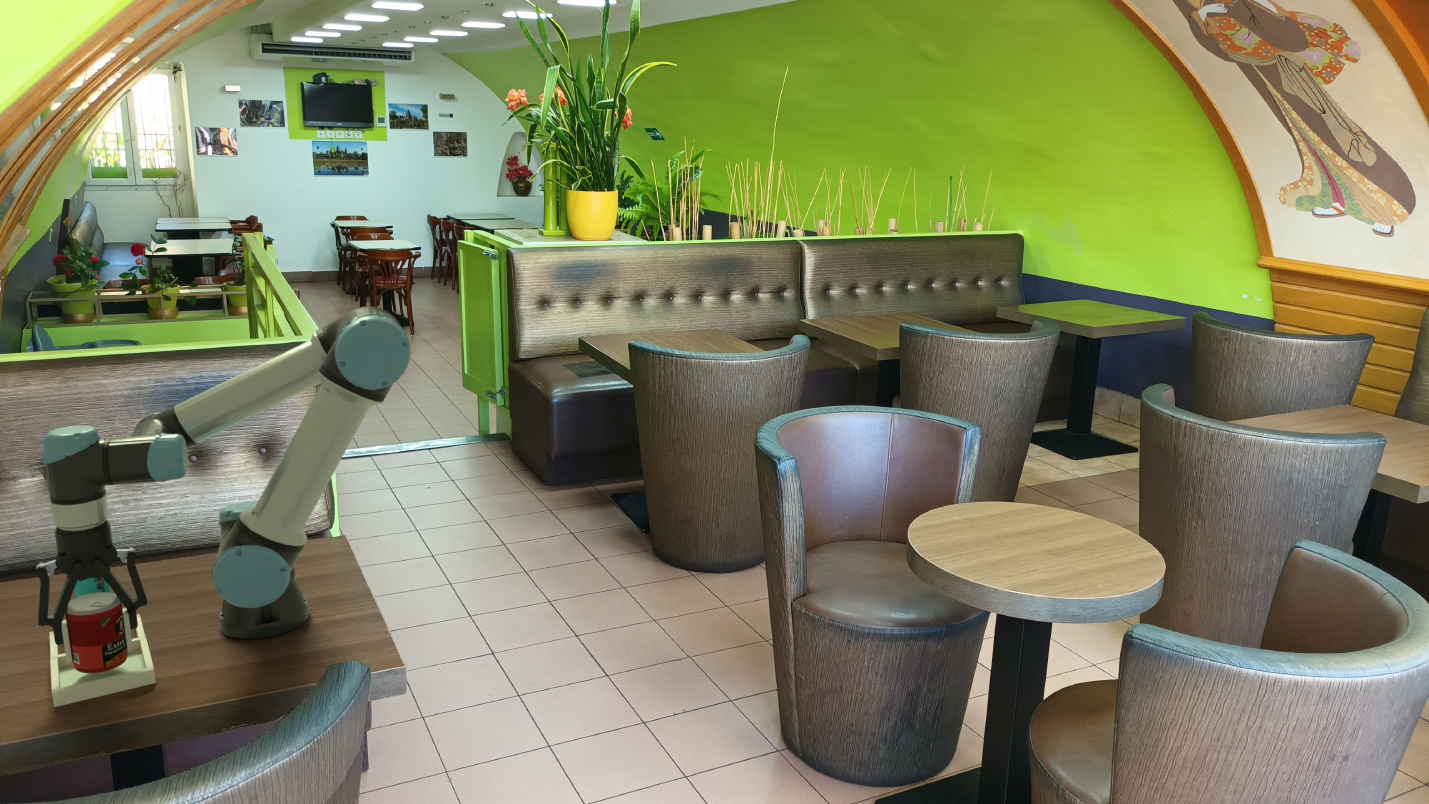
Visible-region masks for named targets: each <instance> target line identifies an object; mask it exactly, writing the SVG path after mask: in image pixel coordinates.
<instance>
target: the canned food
mask: <svg viewBox="0 0 1429 804" xmlns="http://www.w3.org/2000/svg"><path fill="white" fill-rule="evenodd" d="M122 609H123V603H122V602H121V601H120V599H119V598H118V597H117V595H116V594H115V593H114V592H111V591H110V592H99V593H91V594H87V595H83V596H80V597H77V598H73V599H72V598H71V599H70V601H69V604H68V607H67V610H66V612H65V620H66V622H67V627H68V634H69V641H70V648H71V655H72V662H73V665H74V667H75V669H76V670H77V671H79V672H82V673H99V672H104V671H108V670H111V669H114V668H116V667H118V666H120V665H122V664H123V663H124V662H125V661H126V659H127V656H128V650H127V642H126V634H125V627H124V619H123V610H122Z"/></svg>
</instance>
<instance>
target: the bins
mask: <svg viewBox="0 0 1429 804" xmlns="http://www.w3.org/2000/svg"><path fill="white" fill-rule="evenodd" d="M136 614H137V613H136ZM137 622H138V626H137V628H135V631H136V635H137V637H134V638H132V646H133V650H130V651H128V656H127V659H126V661H125V662H124V663H123V664H122V665H120V666H118V667H116V668H114V669H111V670H108V671H104V672H99V673H82V672H79V671H77V670H76V669H75V667H74V665H73V662H72V663H70V664H67V661H66V654H65V652H64V653H60V654H59V645H57V644H56V643H55V639H54V632H53V631H49V651H50V652H49V653H50V656H49V660H50V661H49V662H50V663H49V664H50V682H51V683H50V684H51V696H52V703H53V708H58V707H62V706H65V705H70V704H74V703H77V702H82V701H85V700H91V699H94V698H99V697H103V696H107V695H111V694H115V693H119V692H124V691H128V690H131V689H137V688H141V687H146V686H148V685H153V684H156V683H157V681H156V673H155V668H154V667H155V666H154V664H153V659H152V655H151V652H150V648H149V644H148V640H147V636H146V634H145V630H144V626H143V623H142V619H141V615H140V613H138V614H137ZM127 650H128V649H127Z"/></svg>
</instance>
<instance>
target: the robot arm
mask: <svg viewBox="0 0 1429 804" xmlns="http://www.w3.org/2000/svg"><path fill="white" fill-rule="evenodd" d="M410 359H411V345H410V339H409V337H408V335H407V333H406V331H405V330H404V329H403V327H402V326H401V323H400V322H399V320H398V319H397V317H395V316H394V315H393V314H391V313H390V312H389V311H388V310H385V309H383V308H380V307H375V306H362V307H358V308H356V309H352V310H350V311H349V312H347V313H345V314H344V315H342V316H340V317H338V318H337V319H335V320H334V321H332V322H330V323H328V324H326V325H324V326H323V327H321V328H318V329H316V330H315V331H313V333H312V336H311V339H310V340H307V341H305V342H303V343H301V344H300V345H298V346H295V347H293V348H291V349H289V350H287V351H284V352H283V353H281V354H279V355H276V356H274V357H272V358H270V359H268V360H266V361H265V362H262V363H260V364H258V365H256V366H254V367H252V368H250V369H248V370H246V371H243V372H242V373H240V374H238V375H235V376H233V377H232V378H229V379H227V380H225V381H223V382H222V383H219V384H217V385H215V386H213V387H211V388H209V389H207V390H204V391H202V392H201V393H198V394H196V395H195V396H192V397H190V398H188V399H186V400H184V401H181V402H180V403H178V404H176V405H174V406H173V407H170V408H168V409H166V410H164V411H159V412H153V413H151V414H149V415H146V416H145V417H144V418H142V419H141V420H140V421H139V422H138V423H137V424H136V426H135V428H134V430H133V432H132V433H131V435H130V436H127V437H125V436H124V437H123V436H122V437H116V438H115V437H114V438H111V437H110V438H106V437H104V438H103V437H102V438H101V436H100V434H99V432H98V429H97V428H96V427H93V426H91V425H69V426H63V427H62V426H61V427H58V428H54V429H52V430H49V431H48V432H46V434H45V435H44V436H43V438H42V445H43V447H42V448H43V459H44V460H43V465H44V468H45V473H46V474H45V475H46V479H47V485H48V492H49V499H50V502H49V503H50V508H51V517H52V524H53V525H54V526H55V529H54V538H55V544H56V551H57V554H56V557H55V559H54V560H50V561H47V562H44V561H39V562H38V563H37V564H36V573H37V575H38V579H39V595H38V610H37V611H38V613H37V614H38V615H37V624H38V626H40V627H45V626H49V627H51V628H52V632H54V639H55V643H56V644H57V645H58V646H59V645H63V646H64V653H65V654H66V661H67V664H70V663H72V655H71V648H70V641H69V634H68V627H67V622H66V619H64V618H65V616H66V614H65V612H66V610H67V607H68V604H69V601H71V599H72V596H73V593H74V588H75V586H76V583H77V581H83V580H86V579H88V578H99V577H101V576H102V577H103V578H104V580H105V581H106V582H107V583H108V584H109V586H110V589H111V590H112V591H113V593H115V594H116V595H117V597H118V598H119V599H120V601H121V603H122V606H124V608H123V607H122V610H123V619H124V627H125V634H126V642H127V649H128V651H130V650H133V646H132V639H133V638H132V630H136V628H137V626H138V622H137V610H138V609H139V608H141V607H144V606H147V605H148V603H149V602H148V599H147V598H148V597H147V595H146V594H147V593H146V592H145V589H144V586H143V583H142V580H141V577H140V574H139V571H138V568H137V565H136V561H137V560H136V558H137V552H136V549H135V547H133V546H129V547H127V548H121V549H120V548H119V549H118V548H117V547H115V545H114V543H113V537H112V530H111V529H112V527H111V522H110V520H109V519H108V518H109V517H110V515H109V506H108V498H107V492H106V486H117V485H129V484H130V485H132V484H143V483H155V482H156V483H164V482H167V481H172V480H174V481H175V480H180V479H183V478H185V476H186V475H187V474H188V467H189V458H188V457H189V456H188V449H191V448H192V447H194V446H195V445H198V444H199V443H201V442H203V441H206V440H207V439H210V438H212V437H214V436H215V435H217V434H220V433H222V432H224V431H226V430H227V429H230V428H232V427H234V426H236V425H237V424H240V423H242V422H244V421H246V420H248V419H249V418H252V417H254V416H256V415H258V414H260V413H262V412H264V411H266V410H269V409H271V408H272V407H275V406H277V405H278V404H280V403H283V402H285V401H287V400H289V399H290V398H292V397H295V396H296V395H299V394H301V393H303V392H305V391H307V390H309V389H311V388H313V387H315V386H316V385H317V386H318V385H319V384H321V385H320V387H319V388H318V390H317V392H316V394H315V396H314V398H313V400H312V402H311V403H310V405H309V408H307V411H306V413H305V415H304V416H303V418H302V420H301V422H300V424H299V426H298V427H297V429H296V431H295V432H294V434H293V437H292V438H291V439H290V442H289V443H288V446H287V447H286V449H285V451H284V453H283V454H282V456H281V458H280V461H279V462H278V463H277V466H275V467H276V468H275V470H274V471H273V473H272V474H271V477H270V478H269V480H268V482H267V484H266V486H265V488H264V490H263V491H262V493H261V495H260V497H259V499H257V500H247V501H242V502H238V503H233V504H230V505H227V506H225V507H223V508H222V509H221V510H220V511H219V513H218V514H219V520H218V525H220V529H219V530H220V543H219V547H218V551H217V554H216V558H215V561H214V564H213V566H212V571H211V575H212V581H213V586H214V589H215V591H216V592H217V594H218V595H219V597H221V598H222V605H221V610H220V613H219V617H218V618H219V619H218V620H219V630H220V631H221V633H223V634H224V635H225V636H227V637H231V638H234V639H241V640H245V639H246V640H249V639H250V640H251V639H253V640H254V639H263V638H271V637H274V636H278V635H281V634H285V633H287V632H289V631H292V630H295V629H296V628H298V627H300V626H301V625H303V624H304V623H305V622H306V621H308V618H309V603H308V600H307V598H306V597H305V596H304V594H303V592H302V589H301V586H300V585H299V582H298V580H297V578H296V571H295V570H296V569H295V564H296V563H297V560H298V559H299V557H300V555H301V553H302V551H303V549H304V547H305V546H306V543H307V541H308V537H307V535H306V532H305V526H306V525H307V523H308V521H309V519H310V517H311V515H312V513H313V512H314V510H315V507H317V504H319V503H318V502H319V500H320V499H321V497H322V495H323V494H324V492H325V490H326V488H327V487H328V484H329V482H330V480H331V478H332V477H333V475H334V473H335V472H336V470H337V468H338V466H339V464H340V462H341V461H342V459H343V456H344V455H345V453H346V451H347V449H348V447H349V446H350V444H351V442H352V441H353V438H354V436H355V435H356V433H357V431H358V430H359V427H360V426H361V425H362V422H363V420H364V418H365V416H366V415H367V413H368V411H369V409H370V408H372V407H374V406H378V405H381V404H383V402H384V401H385V399H386V397H387V395H388V394H389V392H390V390H391V389H392V386H393V385H394V384H395V383H396V382H397V381H399V379H400V378H402V376H403V375H404V373H405V372H406V371H407V368H408V365H409V364H410ZM116 558H119V559H120V560H121V562H122V563H124V564H126V568H127V572H128V575H129V578H130V580H131V583H132V586H133V588H134V592H135V594H136V598H134V599H133V597H132V596H131V595H130V594H129V593H128V591H127V590H126V588H125V586H124V585H123V584H122V582H121V581H120V580H119V579H118V577H117V576H116V574H115V573H114V571H113V570H112V569H111V566H112V564H113V563H114V561H115V560H116ZM56 568H58V569H59V570H60V571H61V572H63V573H65V575H66V577H65V581H64V583H63V586H62V590H61V592H60V595H59V598H58V600H57V603H56V606H55V609H54V611H53V614H49V600H50V586H51V585H50V583H51V582H50V577H52V576H54V574H55V569H56Z"/></svg>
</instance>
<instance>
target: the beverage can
mask: <svg viewBox="0 0 1429 804" xmlns="http://www.w3.org/2000/svg"><path fill="white" fill-rule="evenodd" d="M99 592H110V593H111V587H110V586H109V584H108V583H107V582H106V581H105V580H104V578H103V577H102V576H101V577H99V578H88V579H86V580H83V581H77V583H76V586H75V588H74V590H73V593H74V597H75V598H77V597H80V596H83V595H87V594H91V593H99ZM75 598H74V599H75Z"/></svg>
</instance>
